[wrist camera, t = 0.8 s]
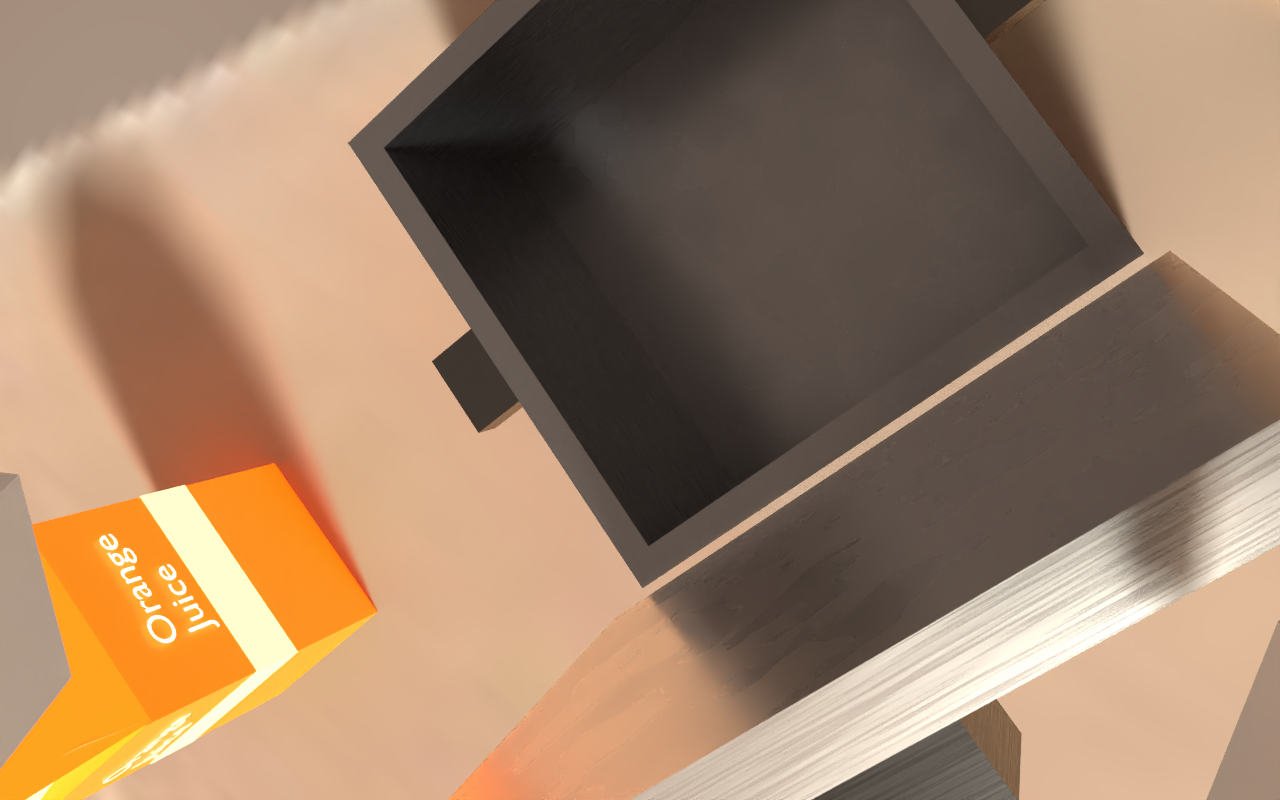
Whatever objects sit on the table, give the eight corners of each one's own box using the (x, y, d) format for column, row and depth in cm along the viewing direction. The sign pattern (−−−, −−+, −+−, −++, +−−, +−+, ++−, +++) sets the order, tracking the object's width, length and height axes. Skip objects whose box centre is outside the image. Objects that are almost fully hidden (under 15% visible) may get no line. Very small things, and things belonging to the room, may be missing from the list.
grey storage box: (1199, 211, 42) (1226, 198, 32) (695, 548, 50) (588, 624, 40) (896, -189, 44) (831, -321, 34) (461, 198, 52) (302, 186, 42)
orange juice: (278, 696, 59) (-104, 901, 40) (180, 550, 60) (-235, 684, 42) (381, 610, 56) (21, 787, 38) (276, 459, 57) (-124, 558, 39)
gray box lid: (1164, 246, 32) (1229, 332, 32) (629, 602, 39) (680, 673, 39) (1342, 382, 13) (1501, 594, 13) (236, 1029, 20) (334, 1171, 20)
